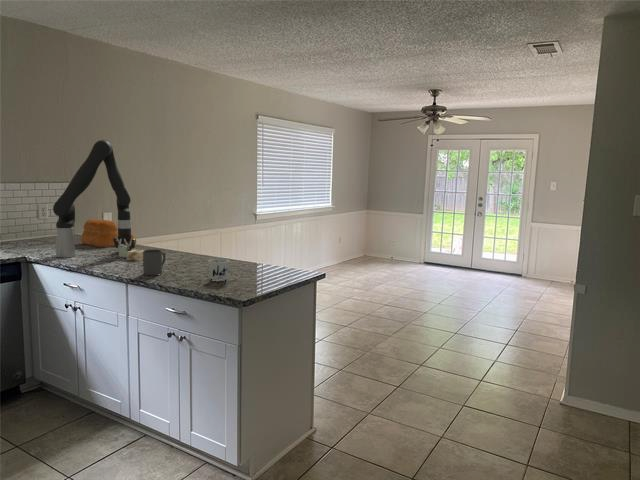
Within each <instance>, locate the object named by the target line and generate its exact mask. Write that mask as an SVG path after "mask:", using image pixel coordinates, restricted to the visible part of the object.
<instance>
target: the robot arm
mask: <svg viewBox="0 0 640 480" xmlns="http://www.w3.org/2000/svg"><path fill="white" fill-rule="evenodd" d="M102 162H103V163H104V166H105V169H106V174H107V179H108V181H109V183H110V186H111V189H112V190H113V191H114V194H115V197H116V207H117V232H118V238H114V243H115V246H114V247H115V248H117V249H118V250H119V247H120V246H123V245H124V244H126V246H127V248H128V251H131V250H134V249H135V247H136V245H135V242H136V243H137V238H136V239H133V238H131V235H132V221H131V211H130V204H131V197H130V194H129V193H128V190H127V188H126V185H125V183H124V180H123V177H122V176H121V173H120V170H119V167H118V165H117V161H116V158H115V154H114V148H113V145H112V143H111V142H110V141H108V140H106V139H100V140H98V141H96V142H94V144H93V146H92V148H91V150H90V152H89V154H88V156H87V158H86V159H85V161H83V163H82V164H81V165H80V167H79V168H78V169H77V171H76V172H75V174H74V175H73V177H72V179H71V180H70V182H69V183H68V185H67V187H65V190H64V191H63V193H62V194H61V195H60V196H59V197H58V199H57V200H56V201H55V203H54V204H53V205H52V206H53V207H52V211H53V213H54V215H55V216H57V217H58V220H57V221H56V223H55V225H56V226H55V227H56V228H55V229H56V231H55V232H56V240H55V242H54V243H55V257H56V258H57V257H58V258H66V259H67V258H73V257H76V244H75V243H76V241H75V240H76V239H75V222H76V207H75V204H74V202H75V201H76V199H77V198H78V197H79V196H81V194H82V193H84V192H85V191H86V190H87V188H88V187H89V186H90V184H91V183H92V181H93V180H94V178H95V177H96V174H97V172H98V168H99V167H100V165H101V164H102ZM118 240H119V242H118ZM130 241H131V243H130Z"/></svg>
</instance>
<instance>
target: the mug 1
mask: <svg viewBox="0 0 640 480" xmlns="http://www.w3.org/2000/svg"><path fill="white" fill-rule="evenodd" d="M144 250H145V249H144ZM165 262H166V254H165V252H164V251H163V252H162V250H161V249H146V250H145V251H143V260H142V269H143V275H144V276H146V275H157V276H159V275H158V274H161V273H162V274H163V266H164V265H165ZM162 274H161V275H162Z"/></svg>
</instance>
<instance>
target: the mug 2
mask: <svg viewBox="0 0 640 480" xmlns="http://www.w3.org/2000/svg"><path fill="white" fill-rule="evenodd" d="M207 262H208V263H207V264H208V267H209V268H208V269H209V276H210V280H211V279H226V278H227V279H228V273H229V267H230V262H231V261H230V259H226V258H212V259H208V260H207Z"/></svg>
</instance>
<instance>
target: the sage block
mask: <svg viewBox="0 0 640 480" xmlns="http://www.w3.org/2000/svg"><path fill="white" fill-rule="evenodd" d="M127 251H128V248H127V246H120V247H119V249H118V257H120V258H121V257H122V258H127Z"/></svg>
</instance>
